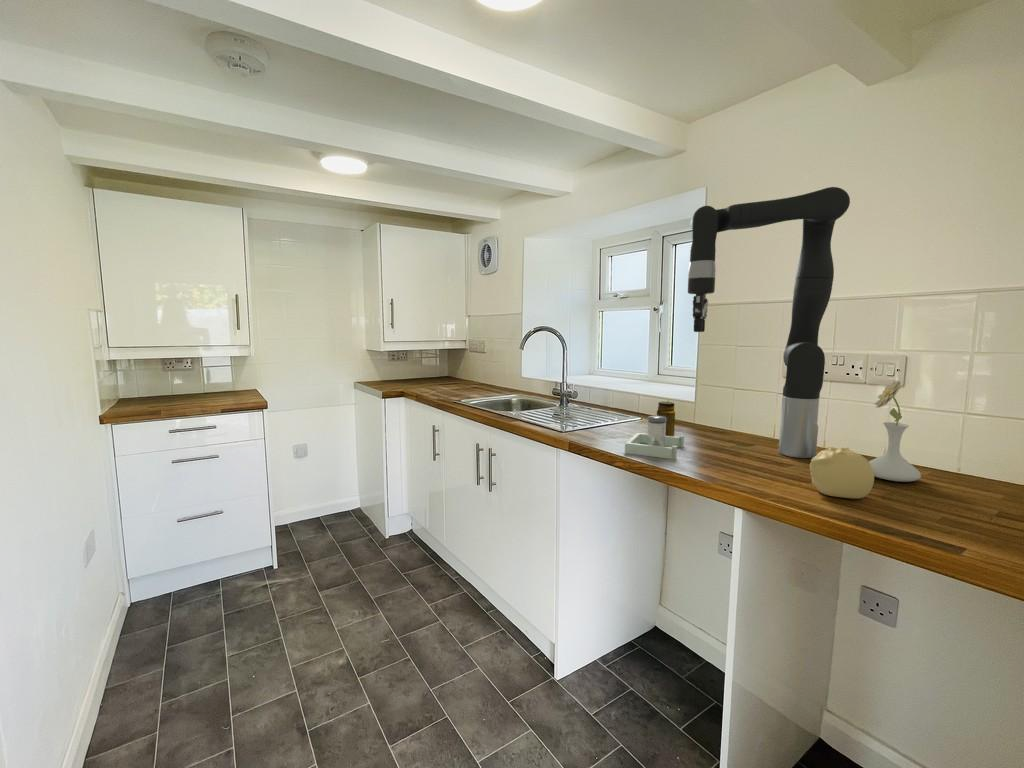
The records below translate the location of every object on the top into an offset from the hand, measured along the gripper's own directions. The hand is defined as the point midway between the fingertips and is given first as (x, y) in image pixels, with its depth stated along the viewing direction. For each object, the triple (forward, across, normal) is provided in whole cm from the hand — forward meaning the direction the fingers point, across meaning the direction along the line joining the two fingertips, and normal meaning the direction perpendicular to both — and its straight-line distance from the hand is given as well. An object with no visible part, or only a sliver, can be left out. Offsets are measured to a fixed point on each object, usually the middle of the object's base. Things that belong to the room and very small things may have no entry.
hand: (699, 331), depth 144 cm
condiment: (+36, +11, +11) cm, 40 cm away
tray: (+36, -8, +10) cm, 38 cm away
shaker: (+36, -8, +10) cm, 38 cm away
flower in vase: (+36, -10, -47) cm, 60 cm away
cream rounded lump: (+36, -29, -34) cm, 58 cm away
